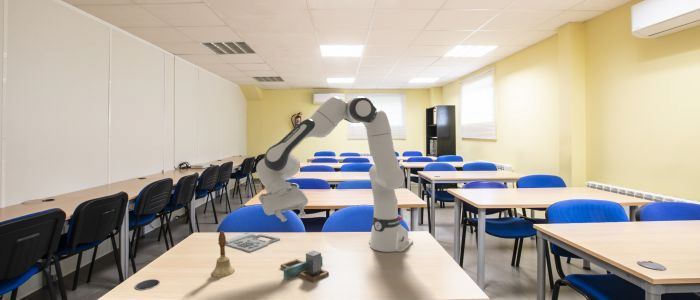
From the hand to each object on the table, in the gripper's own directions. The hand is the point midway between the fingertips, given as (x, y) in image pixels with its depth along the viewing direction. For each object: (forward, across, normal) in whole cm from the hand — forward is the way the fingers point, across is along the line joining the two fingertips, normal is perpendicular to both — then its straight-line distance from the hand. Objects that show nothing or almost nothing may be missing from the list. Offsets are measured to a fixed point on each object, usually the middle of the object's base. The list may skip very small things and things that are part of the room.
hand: (294, 218), depth 130 cm
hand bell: (+3, -23, +24) cm, 33 cm away
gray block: (+23, -2, +4) cm, 23 cm away
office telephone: (-14, +3, +41) cm, 44 cm away
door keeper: (+19, -2, +8) cm, 21 cm away
